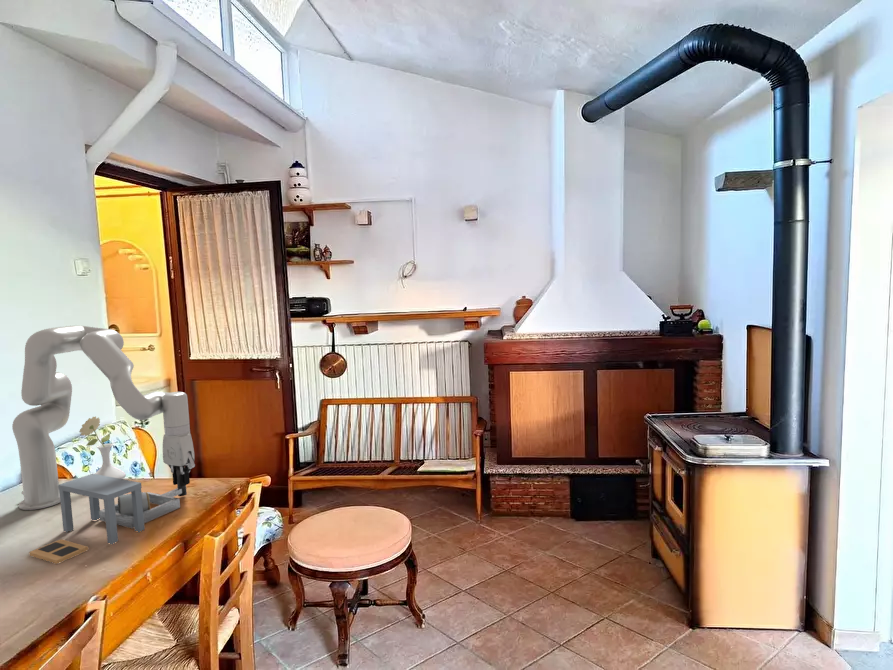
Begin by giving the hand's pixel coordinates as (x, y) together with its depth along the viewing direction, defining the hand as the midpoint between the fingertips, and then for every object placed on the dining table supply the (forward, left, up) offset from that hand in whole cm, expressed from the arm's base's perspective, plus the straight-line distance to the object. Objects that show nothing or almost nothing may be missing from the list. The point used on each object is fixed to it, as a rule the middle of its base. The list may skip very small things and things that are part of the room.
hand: (181, 483), depth 185 cm
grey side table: (0, -27, -5) cm, 27 cm away
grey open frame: (0, -11, -4) cm, 12 cm away
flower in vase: (-39, -1, -5) cm, 39 cm away
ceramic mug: (-1, -17, -5) cm, 17 cm away
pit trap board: (+2, -40, -5) cm, 40 cm away
